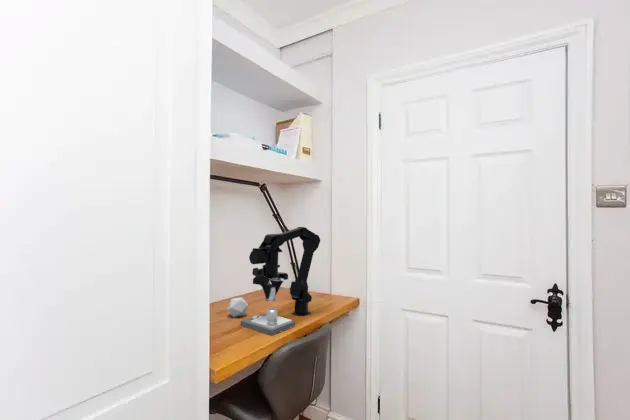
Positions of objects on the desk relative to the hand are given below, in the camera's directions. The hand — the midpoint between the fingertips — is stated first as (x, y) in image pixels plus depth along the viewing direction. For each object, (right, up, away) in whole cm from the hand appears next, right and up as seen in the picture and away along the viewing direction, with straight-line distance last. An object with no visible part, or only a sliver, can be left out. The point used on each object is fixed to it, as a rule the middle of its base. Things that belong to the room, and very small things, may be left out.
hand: (270, 297), depth 147 cm
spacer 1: (0, -1, 0) cm, 1 cm away
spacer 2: (+2, -8, -11) cm, 14 cm away
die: (-17, -11, +9) cm, 22 cm away
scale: (-1, -11, -5) cm, 12 cm away
